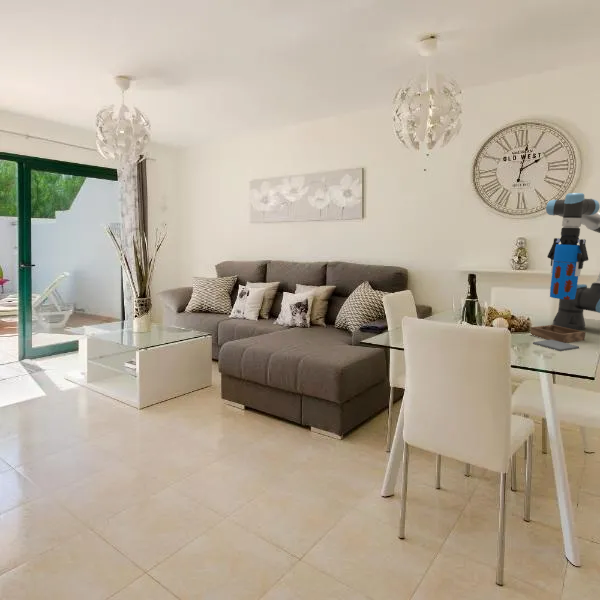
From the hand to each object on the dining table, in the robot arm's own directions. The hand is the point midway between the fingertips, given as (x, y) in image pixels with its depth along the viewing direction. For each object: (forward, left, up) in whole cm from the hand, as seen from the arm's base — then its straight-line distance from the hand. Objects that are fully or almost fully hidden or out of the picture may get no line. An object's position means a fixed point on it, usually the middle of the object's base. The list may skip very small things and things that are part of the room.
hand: (565, 274), depth 213 cm
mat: (+16, +10, -31) cm, 36 cm away
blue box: (0, 0, -11) cm, 11 cm away
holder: (0, 0, -31) cm, 31 cm away
